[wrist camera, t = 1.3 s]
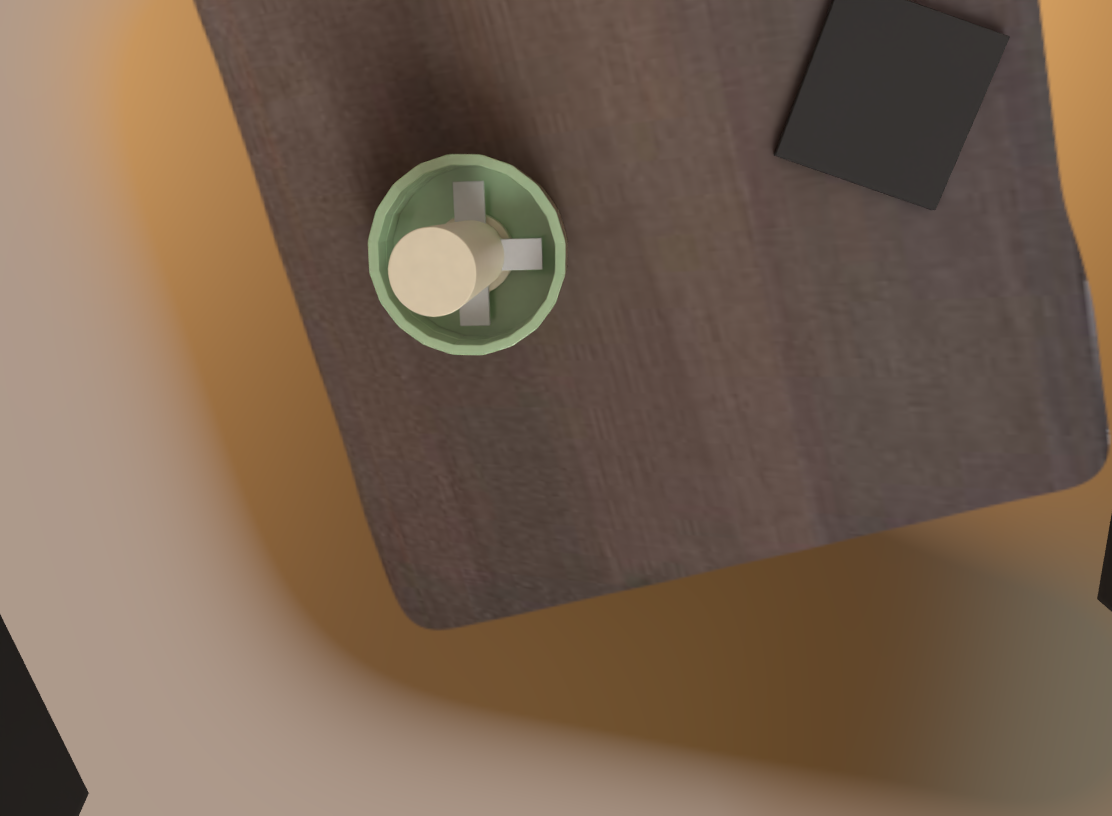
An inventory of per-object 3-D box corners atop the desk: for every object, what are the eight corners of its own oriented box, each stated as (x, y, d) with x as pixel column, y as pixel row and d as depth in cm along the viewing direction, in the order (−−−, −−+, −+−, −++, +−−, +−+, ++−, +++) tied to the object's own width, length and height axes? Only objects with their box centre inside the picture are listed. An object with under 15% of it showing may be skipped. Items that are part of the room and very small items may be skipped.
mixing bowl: (415, 132, 52) (398, 125, 47) (592, 193, 52) (592, 192, 48) (366, 309, 54) (345, 319, 50) (535, 366, 55) (529, 381, 50)
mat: (839, -21, 49) (842, -23, 48) (1005, 38, 49) (1010, 36, 48) (773, 155, 51) (775, 154, 50) (931, 210, 51) (935, 210, 51)
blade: (402, 183, 52) (331, 177, 38) (542, 179, 51) (522, 172, 37) (411, 323, 54) (347, 366, 40) (546, 320, 53) (529, 363, 39)
